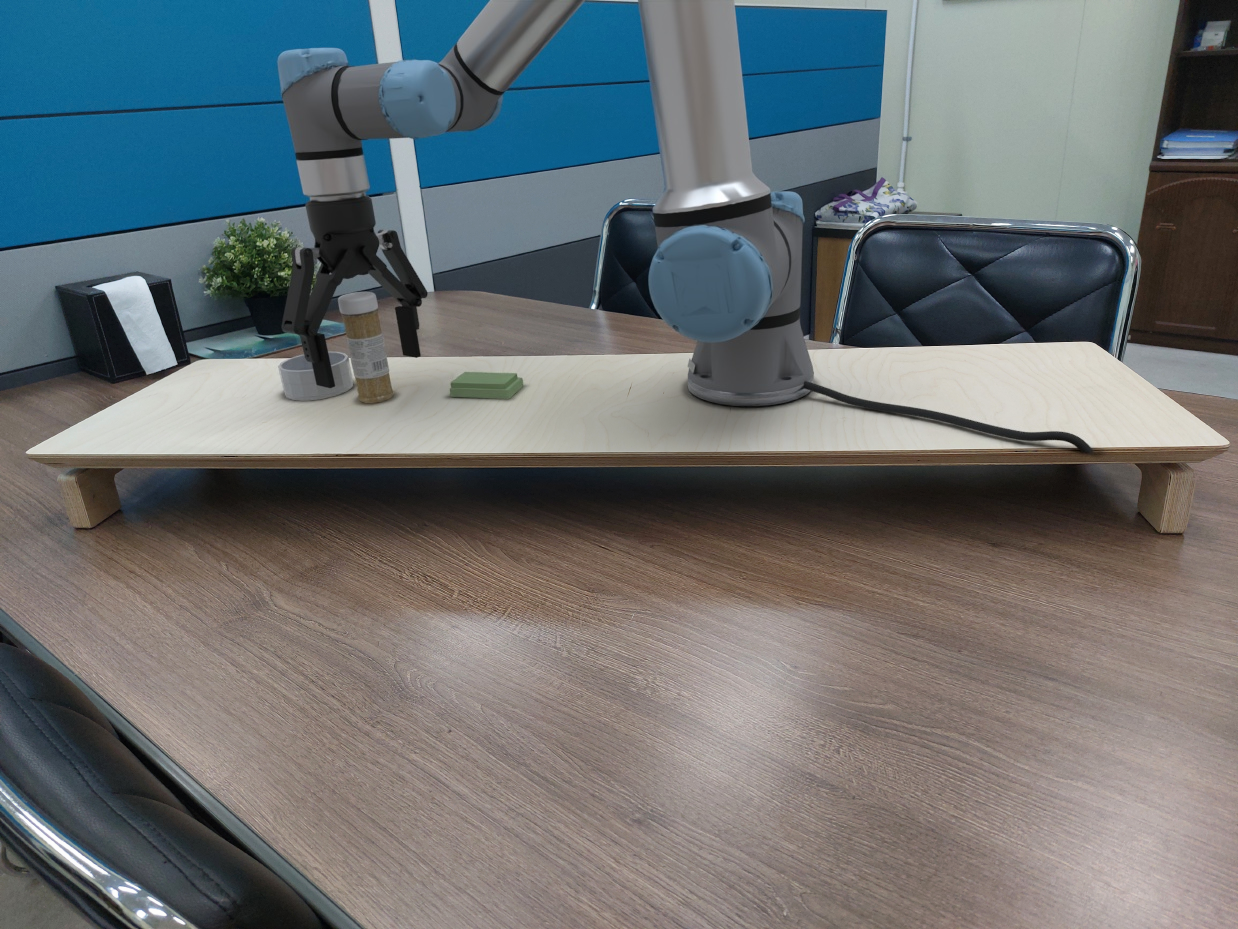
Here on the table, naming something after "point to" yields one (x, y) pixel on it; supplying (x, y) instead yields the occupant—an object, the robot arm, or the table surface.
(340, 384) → the grey short cylinder
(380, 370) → the spice jar
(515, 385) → the green stepped block
